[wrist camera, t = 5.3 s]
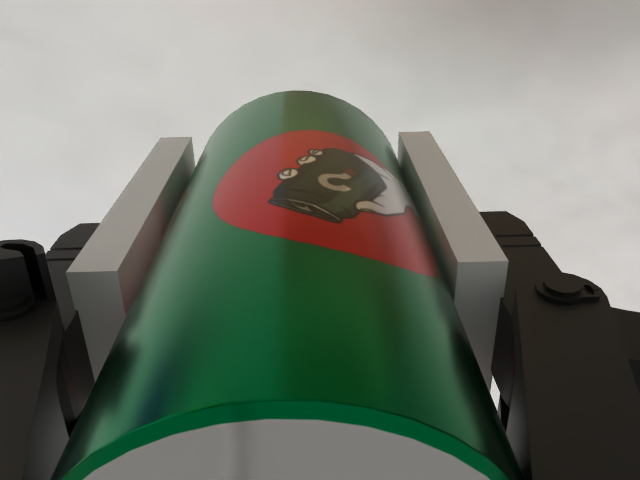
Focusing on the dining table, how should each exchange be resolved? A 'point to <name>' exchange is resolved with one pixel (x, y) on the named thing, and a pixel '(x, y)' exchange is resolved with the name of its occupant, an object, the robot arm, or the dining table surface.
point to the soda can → (292, 323)
